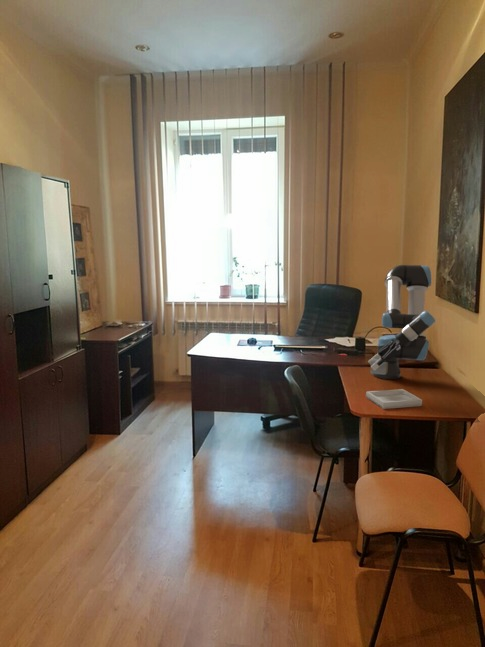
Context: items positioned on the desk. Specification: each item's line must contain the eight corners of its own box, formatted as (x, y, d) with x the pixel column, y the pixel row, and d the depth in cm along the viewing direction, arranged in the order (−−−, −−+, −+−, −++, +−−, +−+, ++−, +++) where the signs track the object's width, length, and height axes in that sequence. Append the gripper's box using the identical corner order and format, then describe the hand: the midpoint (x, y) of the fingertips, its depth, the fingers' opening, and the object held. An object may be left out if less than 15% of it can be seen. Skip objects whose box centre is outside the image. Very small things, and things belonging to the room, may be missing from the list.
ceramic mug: (387, 376, 229) (388, 361, 227) (370, 375, 231) (371, 360, 229) (386, 371, 239) (387, 356, 238) (370, 369, 241) (371, 355, 240)
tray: (365, 397, 226) (366, 391, 226) (402, 394, 231) (402, 389, 230) (383, 408, 211) (383, 402, 210) (421, 405, 215) (422, 399, 215)
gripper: (416, 346, 219) (379, 377, 224) (406, 336, 239) (372, 365, 244) (405, 335, 218) (369, 366, 223) (396, 326, 239) (363, 355, 244)
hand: (371, 366), depth 234 cm, fingers closed on ceramic mug, 8 cm apart
